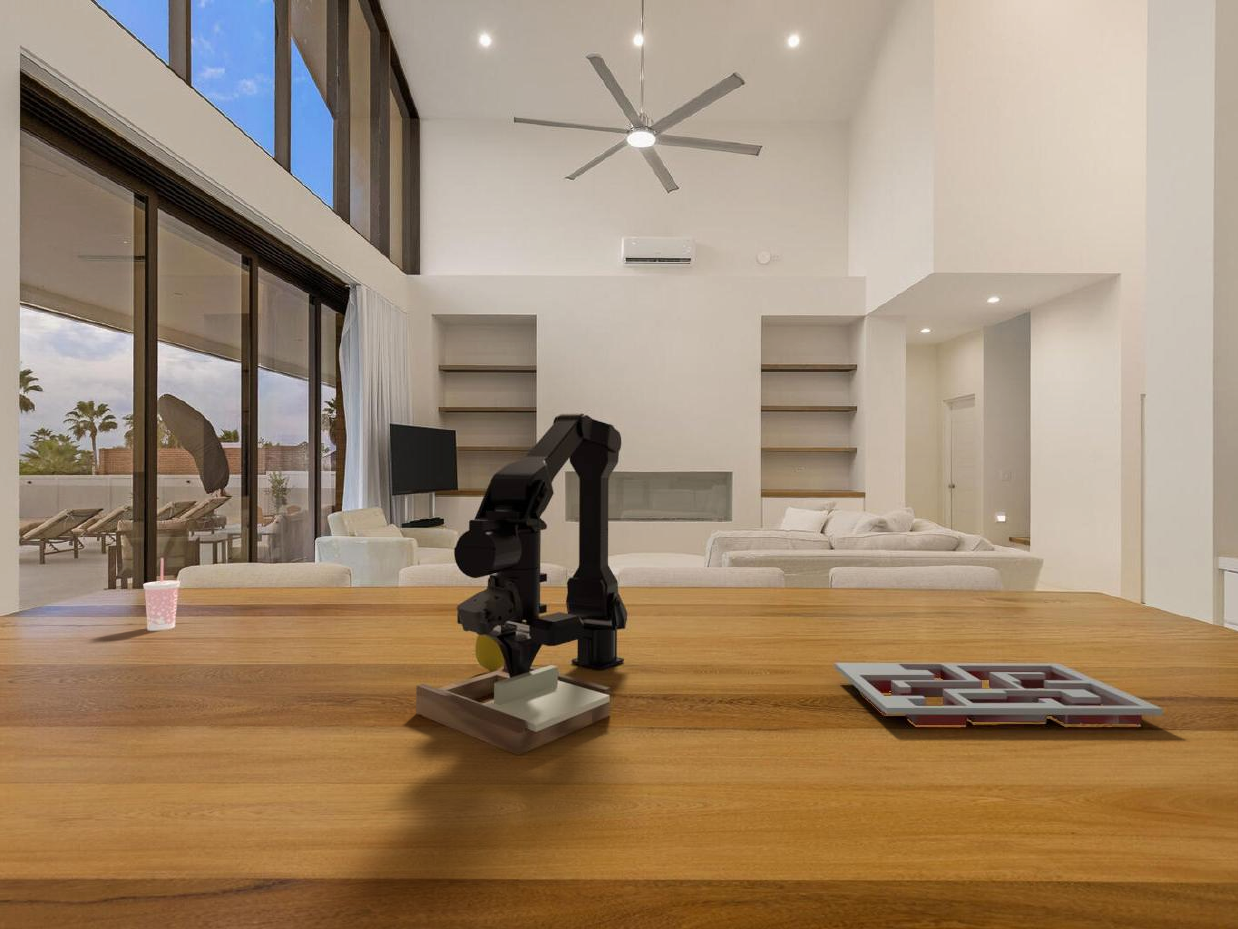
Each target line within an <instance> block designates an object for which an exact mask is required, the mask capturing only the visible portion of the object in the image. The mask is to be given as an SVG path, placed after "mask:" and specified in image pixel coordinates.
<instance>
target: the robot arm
mask: <svg viewBox="0 0 1238 929" xmlns="http://www.w3.org/2000/svg"><path fill="white" fill-rule="evenodd" d="M621 448H622V436H621V432H620V431H619V430H617V429H616V428H615V427H614V425H613V424H612V423H610V424H609V423H606V422H603V421H600V420H596V419H594V418H592V417H591V416H589V415H587V414H585V413H561V414H559V415H556V416H555V417H554V419H553V422H552V425H551V426H550V427H549V429H548V430H547V431H546V432H545V434H543V436H541V438H540V439H539V440H538V442H537V443H536V444H535V445H534V446H533V447H532V448H531V450H530V451H529V452H528V453H527V454H526V455H525V456H524V457H523V458H522V459H520V460H517V461H514V462H511V463H508V464H506V465H504V466H503V467H502V468H501V469H499V470H498V471H497V472H495V473H494V474H493V476H492V477H491V479H490V481H489V484H488V485H487V488H486V490H485V493H484V496H483V498H482V500H481V502H480V504H479V508H478V510H477V513H476V515H475V517H474V519H470V520H469V522H468V530H466V531H465V532H464V533H462V535H460V536H459V538H458V540H457V542H456V545H455V547H454V549H453V550H454V551H453V554H454V560H455V564H456V566H457V567H458V569H459V571H461V573H462V574H463V575H465V576H467V577H470V578H472V579H479V578H483V577H487V576H489V577H488V578H487V587H486V588H485V589H483V590H481V591H479V592H477V593H475V594H474V595H472V596H471V597H469V598H467V599H465V600H463V601H462V602H461V603H459V604H458V605H457V606H456V610H457V618H456V619H457V621H456V622H457V624H459V625H461V627H462V630H463V631H464V632H473V633H476V635H478V634H479V635H486V636H488V637H490V638H491V639H492V640H494V641H495V642H496V643H497V644H498V645H499V647H500V650H501V652H502V655H503V657H504V660H505V663H506V667H507V670H508V673H509V676H510V678H511V677H515V676H518V675H521V674H524V673H527V672H529V669H530V667H531V666H533V663H534V661H535V659H536V656H537V655H538V653H539V651H540V650H541V648H542V646H547V647H556V646H559V645H562V644H567V643H571V642H573V641H577V645H576V646H577V651H576V652H577V656H576V657H575V658H571V663H572V664H577V665H580V666H583V667H588V668H591V669H595V670H604V669H607V668H609V667H612V666H615V665H618V664H621V663H623V662H624V661H625V659H624V658H623V657H619V656H618V650H617V649H618V631H619V630H624V629H626V627H627V626H626V625H627V621H628V611H627V609H626V606H625V604H624V602H623V599H622V598H621V596H620V594H619V583H618V579H617V578H616V576H615V575H614V573H613V571H612V570H611V568H610V566H609V480H610V479H609V478H610V476H611V475H612V473H613V471H614V470H615V468H616V466H617V465H618V463H619V458H620V457H619V453H620V451H621ZM568 460H569V464H570V465H571V467H572V468H573V470H574V472H575V474H576V475H577V477H578V479H579V480H578V482H579V483H578V484H579V485H578V488H579V489H578V490H579V491H578V492H579V493H578V494H579V495H578V508H579V509H578V514H579V515H578V548H579V549H578V568H577V569H576V571H575V572H574V574H573V575H572V577H569V578H568V580H567V582H566V588H567V591H566V593H567V594H566V600H565V604H566V606H565V607H566V611H567V613H565V612H561V611H558V612H555V613H554V612H553V613H549V614H546V613H547V608H548V606H547V605H548V604H545V603H541V583H544V582H545V583H546V582H548V573H544V572H541V546H542V545H541V544H542V542H541V540H542V539H541V537H542V536H541V533H542V531H544V530H547V528H548V526H547V523H546V522H545V521H544V519H542V518H541V517H542V515H543V513H544V512H545V511H546V510H547V507H548V505H550V504H549V503H550V502H551V500H552V498H553V496H554V494H555V493H554V489H553V488H554V487H553V481H554V480H555V478H556V476H557V475H558V474H559V472H560V470H562V468H563V467H564V465H565V464H566V463H567V461H568ZM544 613H545V614H546V615H541V614H544ZM540 615H541V616H540Z"/></svg>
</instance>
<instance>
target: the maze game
mask: <svg viewBox="0 0 1238 929" xmlns="http://www.w3.org/2000/svg"><path fill="white" fill-rule="evenodd" d="M833 667H834V668H833V669H834V670H836V671H837V672H838V673H839V674H841V675H842V676H843V677H844V679H846V680H848V681H849V682H850V683H851V684H852V685H853V686H854V687H855V688H856V689H857V690H858V694H859V693H861V694H862V695H863V696H864V697H865V698H867V699H868V701H869V702H871V703H872V704H873V705H874V706H875V707H876V708H877V709H878V710H879V711H880V712H882V713H883V714H885V715H886V714H889V715H890V714H906V717H907V719H909V720H910V721H911V722H913V723H914V724H915V725H967V726H968V721H967V718H968V719H969V720H971V721H972V722H1047V723H1048V720H1047V716H1052V717H1053V718H1055V719H1057V720H1058V721H1060V722H1063V723H1064V724H1080V723H1082V724H1137V725H1138V724H1140V725H1142V726H1143V716H1162V715H1163V708H1162V707H1161V706H1157V705H1155V704H1153V703H1150V702H1148V701H1146V700H1143V699H1141V698H1139V697H1137V696H1134V695H1132V694H1130V693H1128V692H1126V691H1125V692H1124V691H1122V690H1120V689H1118V688H1116V687H1114V686H1111V685H1109V684H1106V683H1104V682H1102V681H1100V680H1097V679H1095V678H1092V677H1090V676H1088V675H1086V674H1083V673H1081V672H1079V671H1076V670H1074V669H1072V668H1070V667H1067V666H1065V665H1063V664H1060V663H1057V662H1055V663H1054V662H1053V663H1048V662H1047V663H1045V662H1043V663H1042V662H1041V663H1035V662H1033V663H1032V662H1031V663H1030V662H1029V663H1028V662H1027V663H1026V662H1024V663H1022V662H1021V663H1019V662H1018V663H1017V662H1014V663H1013V662H1011V663H1010V662H991V663H989V662H988V663H987V662H981V663H980V662H968V663H967V662H834V666H833ZM934 678H941V679H943V680H934ZM981 680H989V687H990V688H992V689H982V681H981ZM1037 688H1044V689H1037ZM889 691H891V692H889ZM882 693H891V696H884V695H883V694H882ZM925 697H943V706H926V698H925ZM1101 704H1103V705H1105V706H1101ZM906 717H905V718H906Z"/></svg>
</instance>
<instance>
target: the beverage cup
mask: <svg viewBox="0 0 1238 929" xmlns="http://www.w3.org/2000/svg"><path fill="white" fill-rule="evenodd" d="M164 561H165V560H164V557H160V580H157V581H150V582H145V583H143V585H142V586H143V590H144V593H145V594H144V596H145V610H146V611H145V612H146V624H147V627H146V628H147V631H152V632H154V631H165V630H170V629H173V628H175V627H176V616H177V606H178V605H177V604H178V593H179V587H180V586H181V585H180V584H181V581H180V580H164V566H165V565H164Z"/></svg>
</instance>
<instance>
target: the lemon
mask: <svg viewBox="0 0 1238 929" xmlns="http://www.w3.org/2000/svg"><path fill="white" fill-rule="evenodd" d="M474 648H475V652H474V653H475V658H476V660H477V662H478V664H479V665H480V666H481V667H482V668H484V669H486V670H488V671H489V673H491V672H494V671H498V670H500V669H502V667H504V661H505V660H504V657H503V655H502V652H501V650H500V647H499V645H498V644H497V643H496V642H495V641H494V640H492V639H491V638H490V637H488V636H486V635H479V634H477V637H476V641H475V645H474Z"/></svg>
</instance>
